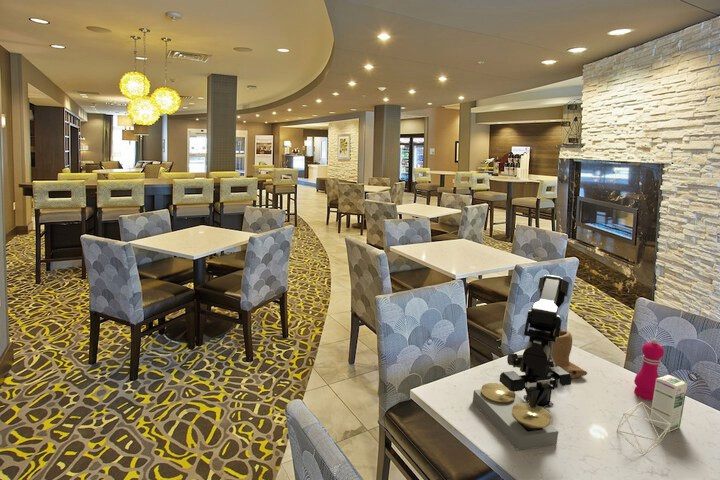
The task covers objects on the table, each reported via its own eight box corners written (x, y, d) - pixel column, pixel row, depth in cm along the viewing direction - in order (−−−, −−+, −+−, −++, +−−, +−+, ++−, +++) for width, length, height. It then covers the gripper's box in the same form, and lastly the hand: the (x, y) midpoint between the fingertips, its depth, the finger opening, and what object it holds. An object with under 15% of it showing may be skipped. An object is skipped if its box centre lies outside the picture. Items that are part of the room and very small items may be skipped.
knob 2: (533, 416, 132) (535, 401, 131) (557, 437, 122) (559, 421, 121) (503, 420, 129) (505, 405, 128) (524, 442, 119) (526, 425, 119)
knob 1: (502, 395, 147) (503, 381, 146) (520, 412, 138) (522, 398, 137) (474, 398, 144) (475, 384, 144) (491, 416, 135) (492, 401, 134)
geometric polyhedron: (667, 461, 119) (673, 430, 117) (619, 449, 123) (625, 418, 121) (659, 435, 130) (664, 406, 128) (615, 425, 134) (620, 396, 133)
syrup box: (668, 433, 131) (677, 386, 128) (647, 422, 136) (656, 377, 133) (680, 428, 134) (689, 382, 131) (659, 417, 139) (667, 373, 136)
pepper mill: (661, 402, 147) (672, 344, 143) (637, 399, 149) (647, 341, 145) (652, 391, 154) (662, 335, 150) (629, 388, 156) (638, 333, 152)
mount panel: (506, 397, 147) (507, 386, 146) (556, 444, 124) (558, 431, 123) (472, 401, 143) (473, 390, 143) (517, 450, 121) (519, 436, 120)
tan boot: (531, 362, 172) (536, 324, 169) (557, 359, 176) (562, 322, 173) (559, 382, 158) (565, 341, 155) (587, 378, 162) (593, 338, 159)
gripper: (549, 338, 131) (542, 388, 134) (491, 343, 126) (485, 395, 129) (576, 355, 121) (569, 409, 124) (514, 362, 116) (508, 417, 119)
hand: (532, 407), depth 124 cm, fingers closed
